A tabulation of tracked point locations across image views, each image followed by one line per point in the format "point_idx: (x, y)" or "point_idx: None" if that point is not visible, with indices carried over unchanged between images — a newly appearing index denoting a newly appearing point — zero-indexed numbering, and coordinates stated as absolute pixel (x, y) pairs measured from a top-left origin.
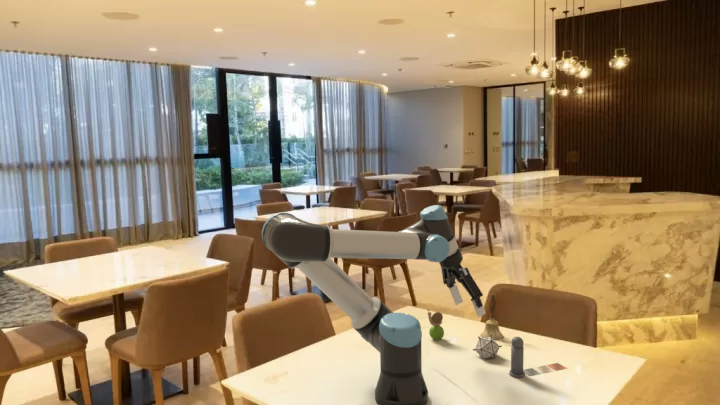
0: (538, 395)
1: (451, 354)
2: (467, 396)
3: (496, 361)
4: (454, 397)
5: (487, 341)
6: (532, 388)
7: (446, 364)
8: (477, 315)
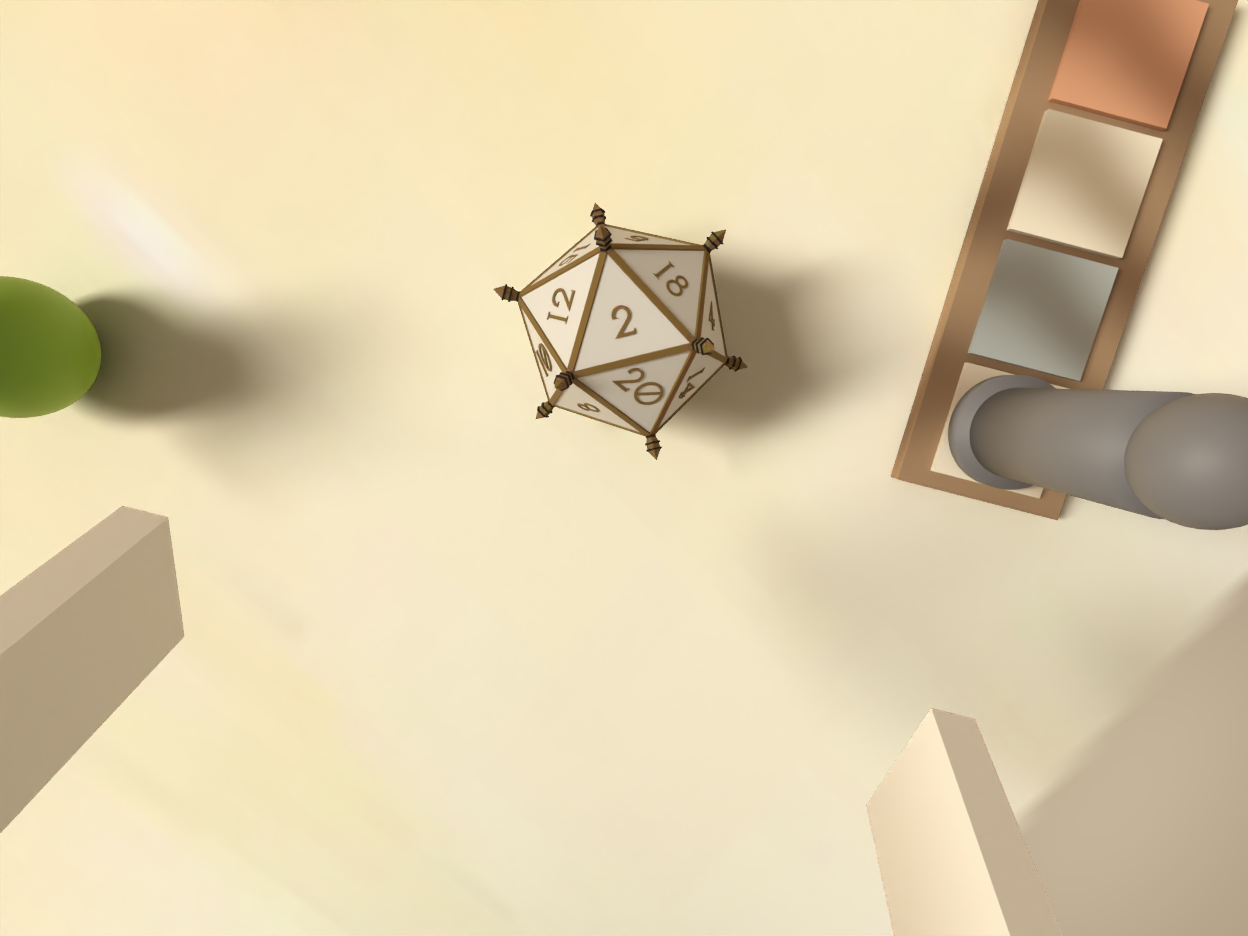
0: None
1: (390, 482)
2: None
3: None
4: None
5: (663, 364)
6: None
7: (508, 641)
8: (876, 829)
